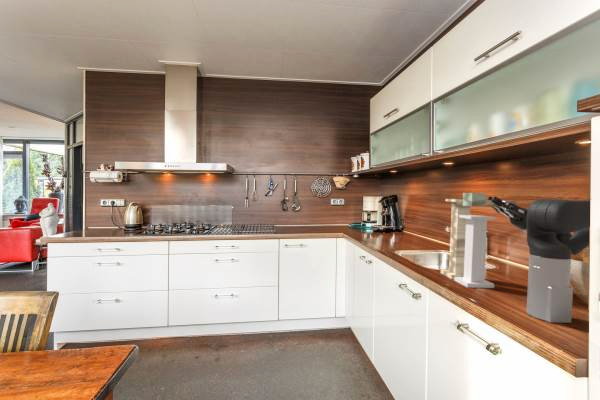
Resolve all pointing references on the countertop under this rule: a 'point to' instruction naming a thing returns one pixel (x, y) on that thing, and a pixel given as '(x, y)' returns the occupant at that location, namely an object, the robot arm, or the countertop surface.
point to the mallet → (480, 200)
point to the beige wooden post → (457, 239)
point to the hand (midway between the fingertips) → (490, 198)
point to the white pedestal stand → (475, 252)
